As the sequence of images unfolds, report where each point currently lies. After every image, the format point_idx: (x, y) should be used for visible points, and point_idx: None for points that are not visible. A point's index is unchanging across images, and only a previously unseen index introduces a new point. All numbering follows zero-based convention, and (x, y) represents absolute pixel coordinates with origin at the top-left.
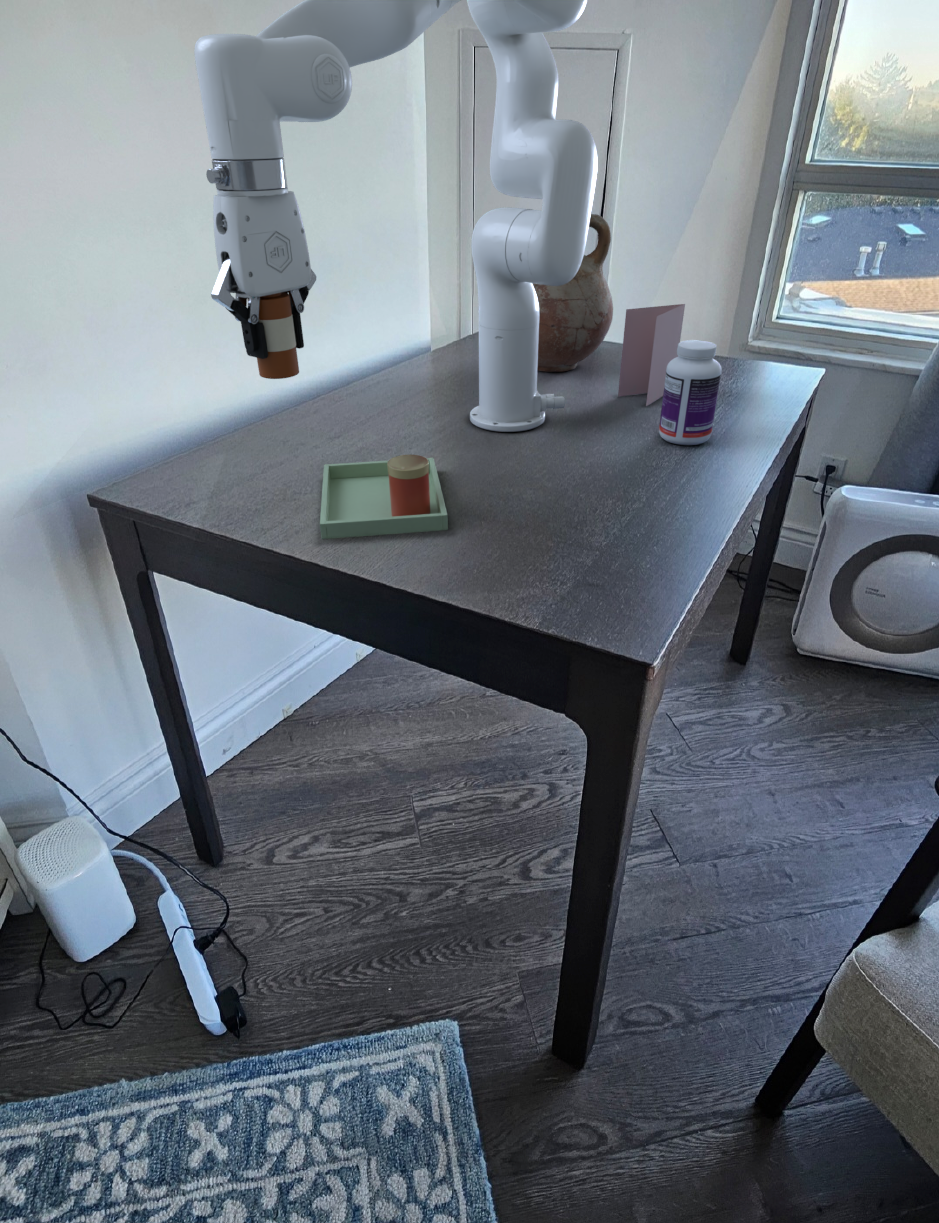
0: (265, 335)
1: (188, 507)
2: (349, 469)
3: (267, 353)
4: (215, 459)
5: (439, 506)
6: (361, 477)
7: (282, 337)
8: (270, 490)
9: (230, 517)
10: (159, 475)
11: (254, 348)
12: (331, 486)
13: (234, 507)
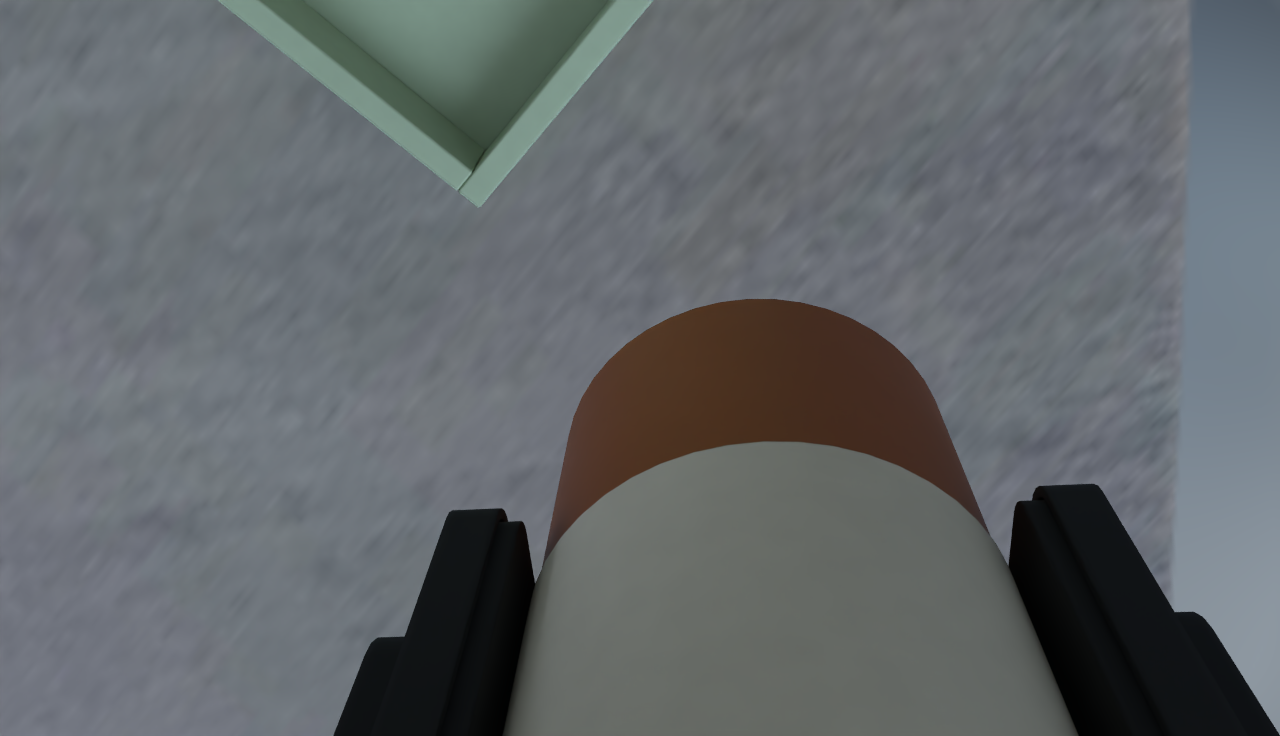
0: (1057, 693)
1: (1063, 423)
2: (390, 92)
3: (1033, 515)
4: None
5: None
6: (355, 38)
7: (870, 546)
8: None
9: (1040, 211)
10: None
11: (1192, 618)
12: (538, 75)
13: (955, 281)
